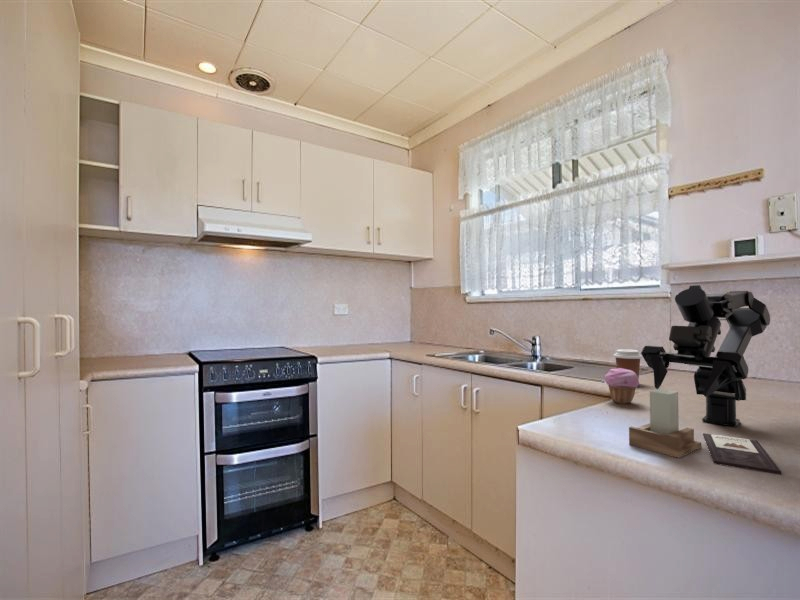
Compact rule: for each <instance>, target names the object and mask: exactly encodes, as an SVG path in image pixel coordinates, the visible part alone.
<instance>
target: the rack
mask: <svg viewBox="0 0 800 600" xmlns="http://www.w3.org/2000/svg"><path fill="white" fill-rule="evenodd" d="M694 429H695V428H691V427H685V428H682V429H680V430H679V431H677V432H675V433H672V434H670V435H665V434H661V433H656V432H652V431H650V422H649V423H647V424H645V425H644V424H643V425H641V426H639V427H635V426H628V432H629V433H628V439H629V440H628V445H631V446H634V447H637V448H641V449H645V450H648V451H652V452H655V453H658V452H659V454H662V453H663V454H662V455H665V454H667V455H666V456H669V455H671V456H670V457H673V456H675V457H674V458H676V457H678V458H677V459H680V458H682V457H684V456H683V455H685V454H687V453H689V452H691V451H693V450H695V449H697V448H699V449H701V448H702V442H701V441H696V440H695V430H694ZM700 447H701V448H700ZM697 450H698V449H697ZM695 451H696V450H695ZM693 452H694V451H693ZM691 453H692V452H691ZM689 454H690V453H689ZM687 455H688V454H687ZM681 456H682V457H681ZM685 456H686V455H685ZM679 457H680V458H679Z"/></svg>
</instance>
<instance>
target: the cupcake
mask: <svg viewBox="0 0 800 600" xmlns="http://www.w3.org/2000/svg"><path fill="white" fill-rule="evenodd" d="M604 382H605V383H606V384H607V385H608V386H607V387H608V390H609V394H610V398H611V400H612V401H614V402H616V403H618V404H620V405H621V404H630V403H632V401H633V399H634V397H635V394H636V390H637V388H638V387H639V384H640V381H639V380H638V376H637V375H636V373H635V372H633V371H631V370H627V369H623V368H618V369H617V368H610V370H608V372H607V373H606V374H605V375H604Z"/></svg>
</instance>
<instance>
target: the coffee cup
mask: <svg viewBox="0 0 800 600" xmlns="http://www.w3.org/2000/svg"><path fill="white" fill-rule="evenodd" d="M613 357H614V358H615V365H616V369H618V368H623V369H627V370H631V371H633V372H635V373H636V375H637V376H638V380H639V378H640V365H641V359H643V356H642V354H641V353H640V351H639V350H636V349H629V348H627V349H622V348H621V349H616V352H615V353H613Z"/></svg>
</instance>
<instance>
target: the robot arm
mask: <svg viewBox="0 0 800 600" xmlns="http://www.w3.org/2000/svg"><path fill="white" fill-rule="evenodd" d="M674 301H675V303H676V306H677V308H678V311H679V312H680V314H681V316H682V318H683V321H686V322H688V325H671V327H670V332H669V337H668V340H669V341H670V342H672V343H673V346H672V347H673V350H675V351H676V353H675V352H666V350H665V348H664V346H659V345H644V346H643V348H642V350H641V352H640V355H642V359H644V362H645V363H646V365H647V366H648V368H650V369H652V371H653V382H654V383H653V384H654V388H655V390H657V389H660V387H661V386H662V384H663V382H664V380H665V378H666V376H667V374H668V369H667V368H669V366H670V363H675V364H683V365H688V366H694V367H698V368H697V369H696V370H695V372H694V374H693V379H694V384H695V385H694V386H695V392H696V395H702V396H704V397H705V415H704V416H703V418H701V421H702V422H706V423H711V424H717V425H723V426H729V427H737V426H738V425H739V423H740V422H741V420H740V419H739V418H737V409H736V408H737V402H739V401H747V388H746V387H745V383H744V381H743V380H746V379H747V378H748V374H749V365H748V364H747V361H746V360H745V359H746V358H745V356H744V354H745V352H746V350H747V347H748V345H749V344H750V341H751V339H752V337H755V336H758V335H761V334H763V332H764V331H765V330H766V328H767V326H770V323H771V315H770V312H769V309H768V307H767V305H766V303H764V302H762V301H760V300H759V299H757V298H756V297H754V294H753V292H752V291H749V290H735V291H734V290H733V291H727V292H725V293H707V292H705V290H703V289H702V286H701V285H700V284H699V285H697V284H696V285H689V286H688V288H687V289H683V290H682V291H680V292H678V293H677V294H676V295H675V296H674ZM720 319H725V321H726V322H727V324H728V327H729V329H728V332H727V334H726V335H725V337H724V338H723V341H722V342H721V344H720V347H719V349H718V350H717V352H716V354H715V355H714V356H711V354H712V353H715V351H716V347H715V343H716V341H717V340H716V339H717V337H718V335H721V334H722V330H721V326H722V322H721V320H720Z"/></svg>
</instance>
